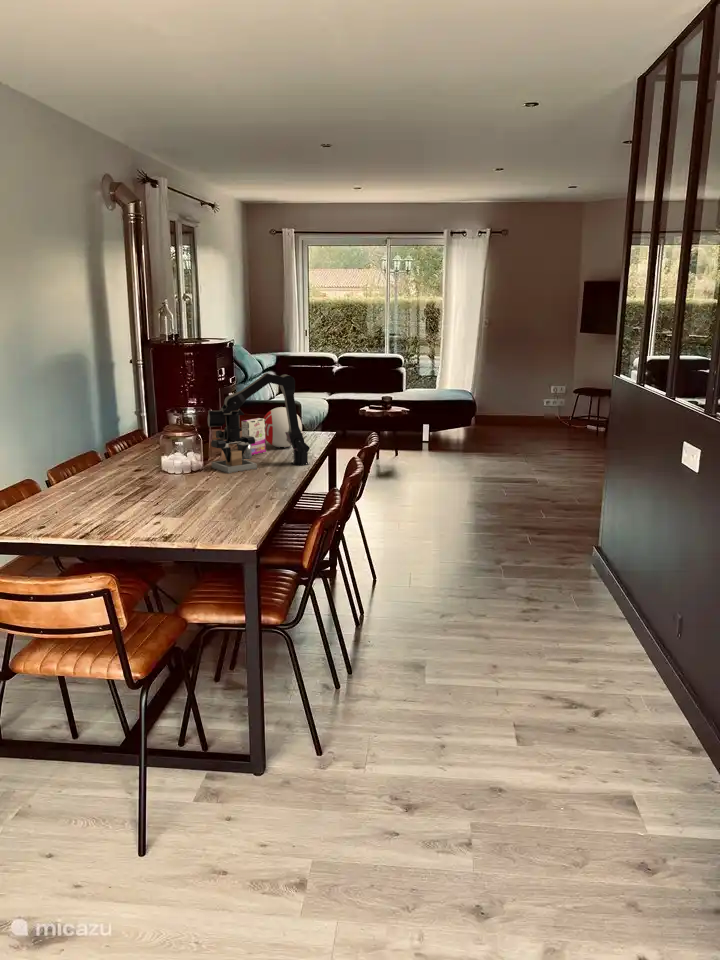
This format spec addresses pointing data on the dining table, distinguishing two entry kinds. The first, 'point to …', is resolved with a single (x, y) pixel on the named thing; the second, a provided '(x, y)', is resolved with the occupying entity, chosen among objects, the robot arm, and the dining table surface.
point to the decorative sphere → (278, 427)
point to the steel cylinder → (247, 452)
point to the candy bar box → (255, 434)
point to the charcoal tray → (229, 469)
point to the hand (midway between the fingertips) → (234, 461)
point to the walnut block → (235, 458)
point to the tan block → (223, 456)
